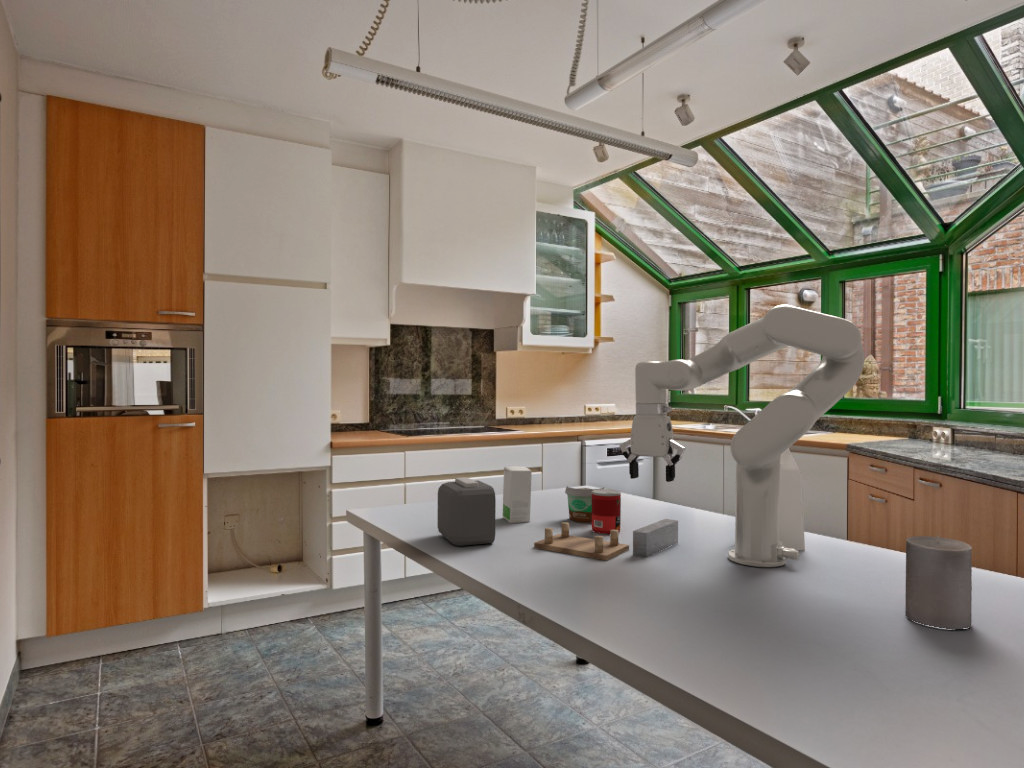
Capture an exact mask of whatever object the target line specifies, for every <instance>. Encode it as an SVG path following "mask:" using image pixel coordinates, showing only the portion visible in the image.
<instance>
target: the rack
mask: <svg viewBox="0 0 1024 768" xmlns="http://www.w3.org/2000/svg"><path fill="white" fill-rule="evenodd" d="M553 530H554V528H552V527H544V538H543V539H541V540H538V541H535V542H534V543H533V548H535V549H541V550H546V551H550V552H556V553H562V554H568V555H574V556H579V557H583V558H584V557H586V558H591V559H596V560H601V561H604V562H605V561H606V562H607V561H609V560H611V559H613V558H615V557H617V556H619V555H621V554H624V553H626V552H627V551H629V550H630V544H625V543H621V542H620V543H619V532H618V530H610V534H609V541H606V540H604V536H603V535H595V536H594V538H588V537H583V536H575V535H570V523H569V522H566V521H565V522H561V526H560V530H561V531H560V533H557V534H554V531H553ZM553 534H554V535H553Z"/></svg>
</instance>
